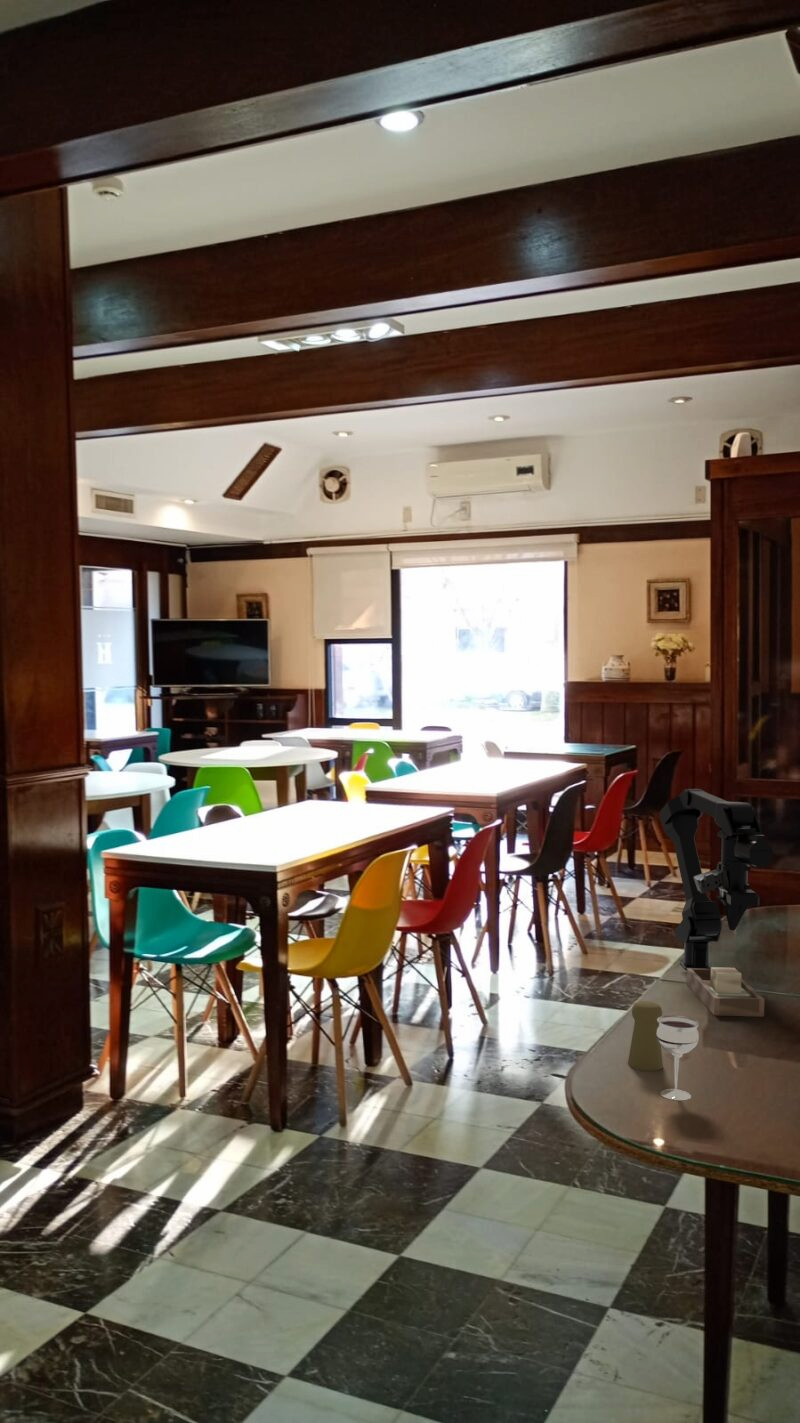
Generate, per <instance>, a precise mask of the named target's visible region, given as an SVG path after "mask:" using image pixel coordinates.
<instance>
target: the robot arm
mask: <svg viewBox="0 0 800 1423" xmlns="http://www.w3.org/2000/svg"><path fill="white" fill-rule="evenodd" d="M703 814H705V815H708V816H710V817H712V818H714V823H715V824H716V825H717V826H719V827H720V828H721V830H719V831H718V832H717V837H719V838H721V855H720V858H721V859H720V861H718V863H717V864H716V869H713V870H708V871H705V872H703V870H702V866H701V862H700V858H699V853H698V850H697V849H698V848H697V844H696V840H695V837H696V834H697V832H698V829H699V820H700V818H701V817H702V816H703ZM659 821H660V823H661V825H662V829H663V832H664V833H665V835H666V836H667V838H669V839H670V840H671V841H672V843H673V846H674V851H675V855H676V860H677V865H678V869H679V874H680V879H681V882H682V888H683V892H684V896H685V904H684V906H683V908H682V912H681V916H682V920H681V921H680V923H679V924H678V926H677V927H676V928H675V938H676V940H678V941H680V942H682V943H684V946H683V951H684V952H683V960H682V959H681V960H679V964H680V965H681V966H682V967H683V968H684V969H685V970H687V968H702V969H711V967H713V966H712V965H711V963H710V944H711V942H713V943H714V942H716V943H718V942H719V939H720V936H721V933H722V928H723V922H722V921H723V920H722V915H721V913H720V906H719V903H718V902H717V900H713V901H712V900H711V899H710V898H709V896H708V894H707V893H709V892H710V891H711V892H715V890H719V894H716V895H715V897H716V899H718V900H719V901H720V902H721V904H722V905H723V907H724V911H725V916H726V920H727V925H728V929H729V931H736V929H737V927H738V925H739V924H740V923H741V922H740V921H741V920H742V918H743V916H744V914H745V912H746V911H747V909H748V908H749V906H750V907H758V906H761V905H760V902H761V901H760V899H761V897H760V896H759V895H758V893H757V892H755V891H753V890H752V889H751V885H750V884H749V883H748V876H749V874H748V872H751V868H752V866H753V867H757V868H764V867H765V868H766V867H767V866H769V864H770V863H771V862H772V860H773V857H774V851H773V849H772V848H773V847H772V846H771V844H769V842H767V841H766V835H764V832H763V831H762V829H763V828H762V825H761V823H760V822H759V819H758V816H757V814H756V811H755V809H754V807H753V805H752V804H751V803H750V802H742V801H727V800H725V799H723V798H720V797H718V796H715V795H713V794H710V793H709V792H706V791H705V790H703V789H701V788H686V789H683V790H682V791H681V792H680V794H678V795H677V796H676V797H674V798H672V799H670V800H668V801H667V802H666V804H665V805H664V806H663V807H662V808H661V810H660V812H659Z"/></svg>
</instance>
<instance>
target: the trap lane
mask: <svg viewBox="0 0 800 1423" xmlns="http://www.w3.org/2000/svg"><path fill="white" fill-rule="evenodd" d="M685 975H686V978H685V979H686V980H685V984H686V985H687V986H688V988H689V989H690V991H692V993H694V994H695V995H696V996H697V998H698V999H699V1000H700V1001H701V1003H703V1005H704V1006H705V1007H706V1008H707V1009H708V1010H709V1012H711V1014H712V1015H713V1016H719V1017H720V1016H721V1017H722V1016H725V1017H726V1016H727V1017H728V1016H729V1017H730V1016H731V1017H765V998H764V997H763V996H761V995H760V994H759V993H758V992H757V991H756V990H755V988H753V987H752V986H751V985H749V983H747V981H745V980H744V979H743V977H741V993H717V992H716V991H715V990H714V989H713V988H712V987H711V986H710V979H711V969H702V968H687V969H686V974H685Z"/></svg>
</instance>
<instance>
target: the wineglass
mask: <svg viewBox="0 0 800 1423" xmlns="http://www.w3.org/2000/svg"><path fill="white" fill-rule="evenodd" d="M657 1021H658V1023H659V1026H658V1027H657V1030H656V1033H657V1034H656V1036H657V1039H658V1042H659V1043H660V1044H661V1048H663V1049H664V1050H665V1051H667V1052H669V1053H671V1055H672V1056H673V1058H674V1065H673V1067H674V1069H673V1070H674V1071H673V1072H674V1073H673V1074H674V1082H673V1083H674V1088H666V1089H663V1090H660V1092H659V1095H660V1096H662V1097H663V1098H665V1099H668V1100H672V1101H688V1100H690V1099H691V1098H692V1095H691V1093H689V1092H687V1091H685V1090H681V1089H678V1081H679V1080H678V1078H679V1077H678V1076H679V1065H680V1058H681V1057H682V1056H683V1054H687V1053H690V1052H691V1051H693V1049H694V1048H695V1047H697V1045H698V1042H699V1039H700V1034H699V1030H698V1027H699V1025H700V1023H699V1021H698V1020H696V1019H694V1018H691V1017H687V1016H683V1015H662V1017H659V1018H658V1019H657Z"/></svg>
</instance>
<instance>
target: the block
mask: <svg viewBox="0 0 800 1423" xmlns="http://www.w3.org/2000/svg"><path fill="white" fill-rule="evenodd" d="M742 976H743V975H742V973H741V972H740V971H739V970H738V969H736V967H718V966H717V967H715V966H712V967H711V979H710V986H711V987H712V988H713V989H714V990H715V991H716V992H717V993H741V978H742Z"/></svg>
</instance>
